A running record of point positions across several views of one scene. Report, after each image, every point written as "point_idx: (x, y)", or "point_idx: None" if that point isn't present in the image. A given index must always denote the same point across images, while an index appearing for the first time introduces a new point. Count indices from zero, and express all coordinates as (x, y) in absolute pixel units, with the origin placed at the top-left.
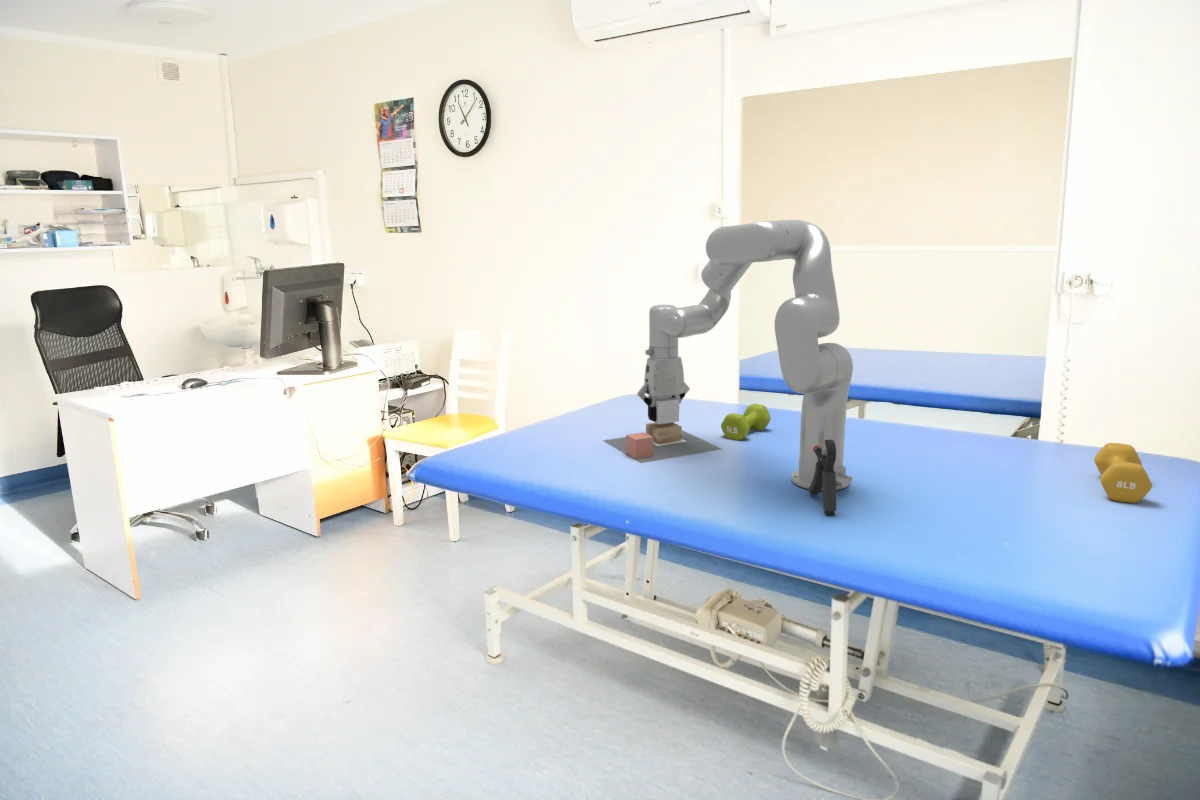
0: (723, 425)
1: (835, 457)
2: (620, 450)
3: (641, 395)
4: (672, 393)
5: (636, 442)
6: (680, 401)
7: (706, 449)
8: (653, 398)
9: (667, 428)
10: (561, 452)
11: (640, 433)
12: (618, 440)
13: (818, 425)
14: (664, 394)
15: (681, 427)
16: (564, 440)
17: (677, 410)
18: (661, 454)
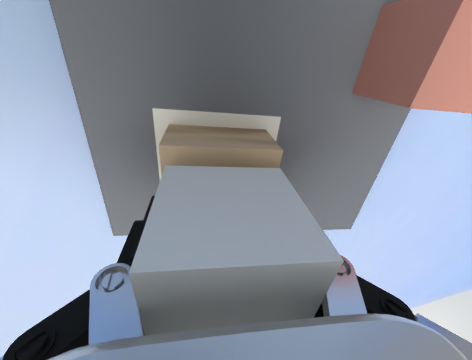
0: None
1: None
2: (391, 138)
3: (462, 352)
4: (207, 355)
5: None
6: (99, 280)
7: None
8: (364, 313)
9: (238, 148)
10: (462, 202)
11: (436, 97)
12: (323, 215)
13: None
14: (321, 341)
15: (160, 143)
16: (386, 260)
17: (165, 203)
18: (345, 3)
